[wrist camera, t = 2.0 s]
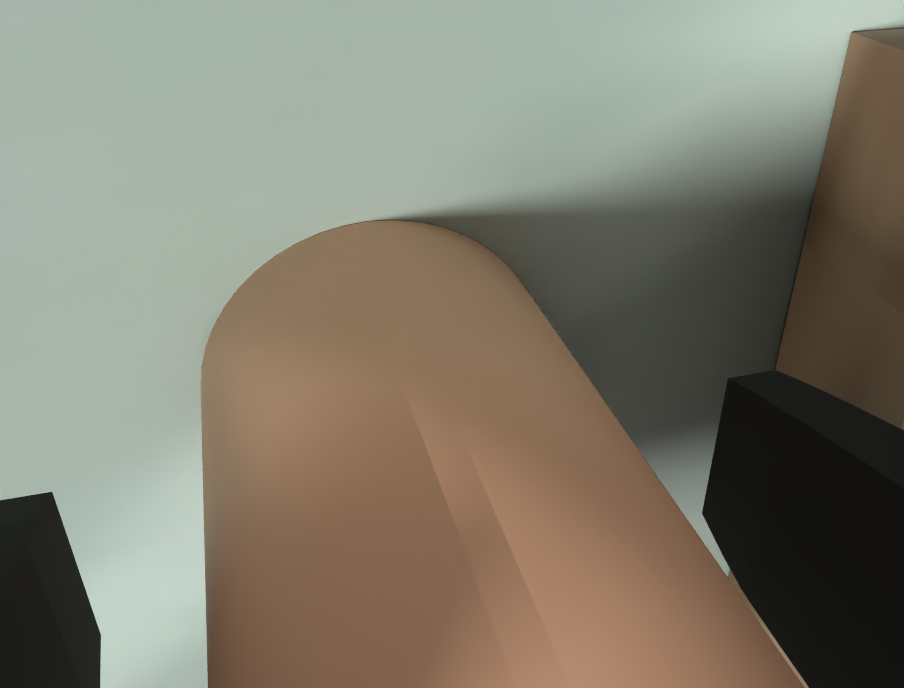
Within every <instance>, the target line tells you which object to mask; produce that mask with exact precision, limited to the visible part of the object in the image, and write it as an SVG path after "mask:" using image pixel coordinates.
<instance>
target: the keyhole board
mask: <svg viewBox="0 0 904 688" xmlns="http://www.w3.org/2000/svg"><path fill="white" fill-rule="evenodd" d="M775 370H776V371H779V372H781V373H784V374H786V375H789V376H791V377H794V378H796V379H798V380H801V381H803V382H805V383H807V384H810V385H812V386H814V387H816V388H818V389H820V390H823V391H825V392H827V393H829V394H831V395H833V396H835V397H837V398H839V399H841V400H843V401H846V402H848V403H850V404H852V405H854V406H856V407H858V408H860V409H862V410H864V411H866V412H868V413H870V414H872V415H874V416H876V417H878V418H880V419H882V420H884V421H886V422H888V423H890V424H892V425H894V426H896V427H898V428H900V429H902V430H904V28H899V29H886V30H874V31H861V32H851V36H850V40H849V44H848V49H847V53H846V58H845V62H844V67H843V71H842V76H841V80H840V84H839V89H838V93H837V98H836V102H835V107H834V111H833V115H832V120H831V124H830V129H829V133H828V138H827V142H826V147H825V151H824V155H823V160H822V164H821V169H820V173H819V178H818V182H817V186H816V191H815V195H814V200H813V204H812V209H811V213H810V218H809V222H808V226H807V231H806V235H805V240H804V244H803V249H802V253H801V257H800V262H799V266H798V271H797V275H796V280H795V284H794V288H793V293H792V297H791V302H790V306H789V311H788V315H787V320H786V324H785V328H784V333H783V337H782V342H781V346H780V351H779V355H778V359H777V364H776V368H775ZM728 579H729V580H730V582H731V583H732V584H733V586H734V587H735V589H736V590H737V592H738V593H739V594H740V596H741V597H742V599H743V600H744V602H745V603H746V604H747V606H748V607H749V609H750V610H751V612H752V613H753V614H754V616H755V617H756V619H757V620H758V622H759V623H760V624H761V626H762V627H763V629H764V630H765V632H766V633H767V635H768V636H769V637H770V639H771V640H772V642H773V643H774V645H775V646H776V647H777V649H778V650H779V652H780V653H781V655H782V656H783V657H784V659H785V660H786V662H787V663H788V665H789V666H790V667H791V669H792V670H793V672H794V673H795V675H796V676H797V677H798V679H799V680H800V682H801V683H802V685H803V686H804V687H805V688H809V687H808V686H807V684H806V683H805V681H804V680H803V678H802V677H801V676H800V674H799V673H798V671H797V670H796V668H795V667H794V666H793V664H792V663H791V661H790V660H789V658H788V657H787V656H786V654H785V653H784V651H783V650H782V649H781V647H780V646H779V644H778V643H777V641H776V640H775V638H774V637H773V635H772V634H771V633H770V631H769V630H768V628H767V627H766V625H765V624H764V622H763V621H762V619H761V618H760V617H759V615H758V614H757V612H756V611H755V609H754V608H753V606H752V605H751V603H750V602H749V600H748V599H747V597H746V596H745V594H744V593H743V591H742V590H741V588H740V586H739V584H738V582H737V581H736V579H735V577H734V575H733V573H732V571H731V569H730V572H729V577H728Z"/></svg>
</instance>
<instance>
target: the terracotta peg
mask: <svg viewBox="0 0 904 688" xmlns="http://www.w3.org/2000/svg"><path fill="white" fill-rule="evenodd" d="M201 417H202V459H203V500H204V541H205V582H206V623H207V665H208V688H805V687H804V686H803V685H802V683H801V682H800V680H799V679H798V677H797V676H796V675H795V673H794V672H793V670H792V669H791V667H790V666H789V665H788V663H787V662H786V660H785V659H784V657H783V656H782V655H781V653H780V652H779V650H778V649H777V647H776V646H775V645H774V643H773V642H772V640H771V639H770V637H769V636H768V635H767V633H766V632H765V630H764V629H763V627H762V626H761V624H760V623H759V622H758V620H757V619H756V617H755V616H754V614H753V613H752V612H751V610H750V609H749V607H748V606H747V604H746V603H745V602H744V600H743V599H742V597H741V596H740V594H739V593H738V592H737V590H736V589H735V587H734V586H733V584H732V583H731V582H730V580H729V579H728V577H727V576H726V574H725V573H724V571H723V570H722V569H721V567H720V566H719V564H718V563H717V561H716V560H715V559H714V557H713V556H712V554H711V553H710V551H709V550H708V549H707V547H706V546H705V544H704V543H703V541H702V540H701V539H700V537H699V536H698V534H697V533H696V531H695V530H694V529H693V527H692V526H691V524H690V523H689V521H688V520H687V519H686V517H685V516H684V514H683V513H682V511H681V510H680V508H679V507H678V506H677V504H676V503H675V501H674V500H673V498H672V497H671V496H670V494H669V493H668V491H667V490H666V488H665V487H664V486H663V484H662V483H661V481H660V480H659V478H658V477H657V476H656V474H655V473H654V471H653V470H652V468H651V467H650V466H649V464H648V463H647V461H646V460H645V458H644V457H643V455H642V454H641V453H640V451H639V450H638V448H637V447H636V445H635V444H634V443H633V441H632V440H631V438H630V437H629V435H628V434H627V433H626V431H625V430H624V428H623V427H622V425H621V424H620V423H619V421H618V420H617V418H616V417H615V415H614V414H613V413H612V411H611V410H610V408H609V407H608V405H607V404H606V403H605V401H604V400H603V398H602V397H601V395H600V394H599V392H598V391H597V390H596V388H595V387H594V385H593V384H592V382H591V381H590V380H589V378H588V377H587V375H586V374H585V372H584V371H583V370H582V368H581V367H580V365H579V364H578V362H577V361H576V360H575V358H574V357H573V355H572V354H571V352H570V351H569V350H568V348H567V347H566V345H565V344H564V342H563V341H562V339H561V338H560V337H559V335H558V334H557V332H556V331H555V329H554V328H553V327H552V325H551V324H550V322H549V321H548V319H547V318H546V317H545V315H544V314H543V312H542V311H541V309H540V308H539V307H538V305H537V304H536V302H535V301H534V299H533V298H532V297H531V295H530V294H529V292H528V291H527V289H526V288H525V287H524V285H523V284H522V282H521V281H520V280H519V278H518V277H517V276H516V274H515V273H514V272H513V271H512V269H511V268H510V267H509V266H508V265H507V264H506V263H505V262H504V261H502V260H501V259H500V258H499V257H498V256H497V255H496V254H494V253H493V252H492V251H490V250H489V249H487V248H486V247H485V246H483V245H482V244H480V243H478V242H476V241H475V240H473V239H471V238H469V237H467V236H465V235H463V234H461V233H458V232H455V231H452V230H449V229H446V228H443V227H440V226H436V225H431V224H426V223H421V222H413V221H399V220H385V221H368V222H362V223H357V224H351V225H345V226H341V227H338V228H335V229H332V230H328V231H325V232H322V233H319V234H316V235H314V236H312V237H310V238H307V239H305V240H303V241H301V242H298V243H296V244H294V245H293V246H291V247H289V248H288V249H286V250H284V251H283V252H281V253H279V254H278V255H276V256H274V257H273V258H272V259H271V260H269V261H268V262H267V263H265V264H264V265H263V266H262V267H260V268H259V269H258V270H256V271H255V272H254V273H253V274H252V275H251V276H250V277H249V278H248V279H247V280H246V281H245V282H244V283H243V284H242V285H241V286H240V287H239V288H238V290H237V291H236V292H235V294H234V295H233V296H232V298H231V299H230V300H229V302H228V303H227V304H226V306H225V307H224V309H223V310H222V312H221V314H220V316H219V318H218V319H217V321H216V323H215V325H214V327H213V329H212V332H211V335H210V337H209V340H208V343H207V345H206V349H205V354H204V358H203V363H202V371H201Z"/></svg>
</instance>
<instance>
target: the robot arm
mask: <svg viewBox="0 0 904 688" xmlns="http://www.w3.org/2000/svg"><path fill="white" fill-rule="evenodd" d="M702 514H703V516H704V518H705V520H706V522H707V524H708V526H709V528H710V530H711V532H712V534H713V536H714V538H715V540H716V542H717V544H718V546H719V548H720V551H721V553H722V555H723V556H724V558H725V560H726V562H727V564H728V566H729V568H730V569H731V571H732V573H733V575H734V577H735V579H736V581H737V582H738V584H739V586H740V588H741V590H742V591H743V593H744V594H745V596H746V597H747V599H748V600H749V602H750V603H751V605H752V606H753V608H754V609H755V611H756V612H757V614H758V615H759V617H760V618H761V619H762V621H763V622H764V624H765V625H766V627H767V628H768V630H769V631H770V633H771V634H772V635H773V637H774V638H775V640H776V641H777V643H778V644H779V646H780V647H781V649H782V650H783V651H784V653H785V654H786V656H787V657H788V658H789V660H790V661H791V663H792V664H793V666H794V667H795V668H796V670H797V671H798V673H799V674H800V676H801V677H802V678H803V680H804V681H805V683H806V684H807V686H808V687H809V688H904V430H902V429H900V428H898V427H896V426H894V425H892V424H890V423H888V422H886V421H884V420H882V419H880V418H878V417H876V416H874V415H872V414H870V413H868V412H866V411H864V410H862V409H860V408H858V407H856V406H854V405H852V404H850V403H848V402H846V401H843V400H841V399H839V398H837V397H835V396H833V395H831V394H829V393H827V392H825V391H823V390H820V389H818V388H816V387H814V386H812V385H810V384H807V383H805V382H803V381H801V380H798V379H796V378H794V377H791V376H789V375H786V374H784V373H781V372H779V371H776V370H775V371H769V372H764V373H758V374H752V375H746V376H740V377H734V378H728V381H727V386H726V391H725V397H724V402H723V407H722V412H721V417H720V423H719V428H718V433H717V438H716V444H715V449H714V454H713V459H712V464H711V470H710V475H709V480H708V485H707V491H706V496H705V501H704V506H703V511H702ZM100 650H101V634H100V631H99V628H98V626H97V623H96V620H95V617H94V614H93V611H92V608H91V605H90V602H89V599H88V596H87V593H86V590H85V587H84V584H83V581H82V579H81V576H80V573H79V570H78V567H77V564H76V561H75V558H74V555H73V552H72V549H71V546H70V543H69V540H68V537H67V534H66V532H65V529H64V526H63V523H62V520H61V517H60V514H59V511H58V508H57V505H56V502H55V499H54V496H53V493H52V492H48V493H42V494H36V495H30V496H24V497H18V498H12V499H6V500H1V501H0V688H100Z"/></svg>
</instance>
